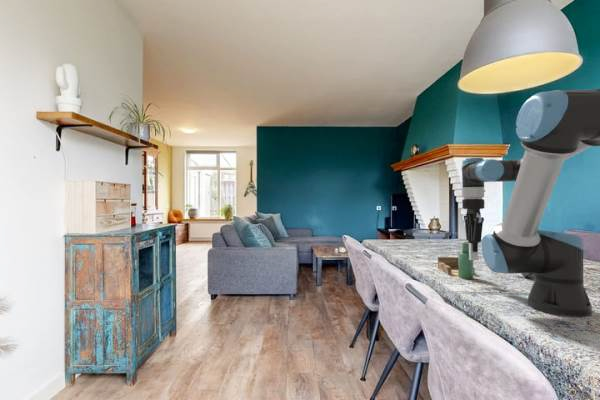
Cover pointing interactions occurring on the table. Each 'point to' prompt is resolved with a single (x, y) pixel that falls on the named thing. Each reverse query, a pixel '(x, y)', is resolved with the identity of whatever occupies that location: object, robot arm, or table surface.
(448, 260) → the cradle
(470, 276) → the bottle
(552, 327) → the table surface
